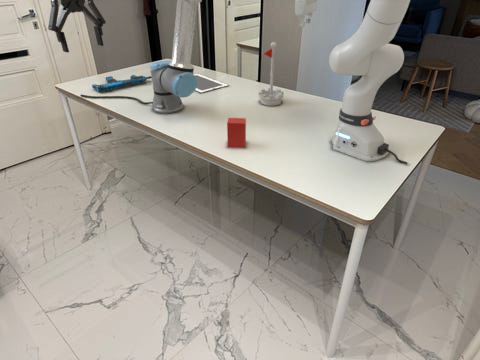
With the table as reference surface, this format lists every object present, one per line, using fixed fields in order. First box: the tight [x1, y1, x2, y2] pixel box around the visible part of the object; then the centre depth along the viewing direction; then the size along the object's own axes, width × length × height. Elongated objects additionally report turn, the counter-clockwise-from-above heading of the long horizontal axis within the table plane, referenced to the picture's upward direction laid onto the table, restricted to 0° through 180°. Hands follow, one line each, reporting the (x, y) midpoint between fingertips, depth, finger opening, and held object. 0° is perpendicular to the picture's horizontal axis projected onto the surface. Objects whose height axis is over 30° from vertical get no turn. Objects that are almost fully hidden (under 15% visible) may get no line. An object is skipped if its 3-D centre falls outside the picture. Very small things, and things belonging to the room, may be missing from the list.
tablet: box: [193, 73, 229, 94], centre depth 207 cm, size 32×20×1 cm, turn 41°
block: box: [226, 117, 247, 149], centre depth 136 cm, size 5×7×11 cm
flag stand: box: [258, 41, 285, 107], centre depth 172 cm, size 13×13×30 cm
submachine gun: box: [91, 74, 152, 93], centre depth 206 cm, size 34×4×25 cm
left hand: (84, 48), depth 124 cm, fingers open, 13 cm apart
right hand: (305, 24), depth 149 cm, fingers open, 8 cm apart
